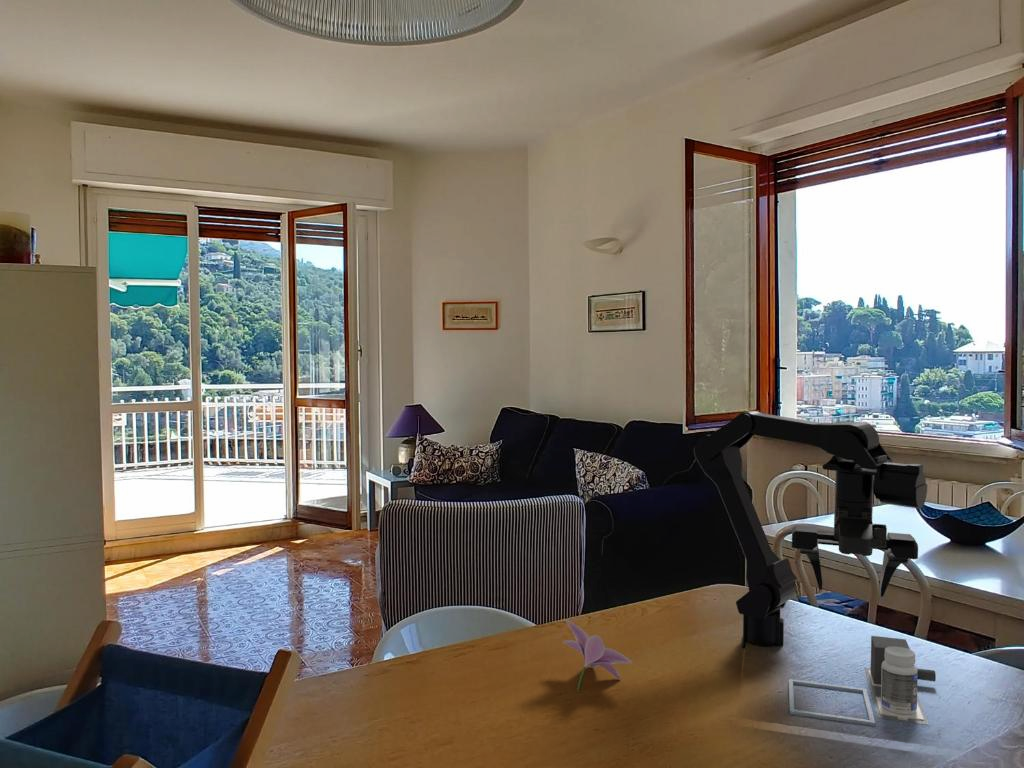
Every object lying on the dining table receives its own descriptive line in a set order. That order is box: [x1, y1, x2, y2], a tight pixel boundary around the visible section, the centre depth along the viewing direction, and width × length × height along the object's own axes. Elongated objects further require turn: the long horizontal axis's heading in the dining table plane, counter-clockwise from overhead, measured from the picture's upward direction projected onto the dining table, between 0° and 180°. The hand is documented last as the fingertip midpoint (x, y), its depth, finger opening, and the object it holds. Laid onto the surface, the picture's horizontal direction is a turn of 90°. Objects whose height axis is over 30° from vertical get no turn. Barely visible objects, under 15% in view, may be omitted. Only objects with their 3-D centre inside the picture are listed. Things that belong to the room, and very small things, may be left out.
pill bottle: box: [881, 646, 919, 714], centre depth 113 cm, size 5×5×8 cm
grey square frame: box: [788, 678, 876, 727], centre depth 115 cm, size 11×11×1 cm
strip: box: [864, 667, 930, 726], centre depth 118 cm, size 6×18×1 cm, turn 161°
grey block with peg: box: [870, 635, 937, 685], centre depth 122 cm, size 9×5×6 cm, turn 71°
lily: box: [562, 619, 633, 691], centre depth 124 cm, size 12×12×10 cm
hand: (850, 592), depth 128 cm, fingers open, 9 cm apart
